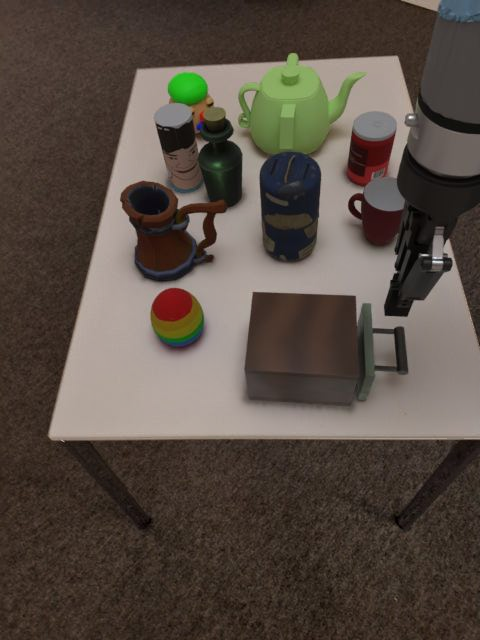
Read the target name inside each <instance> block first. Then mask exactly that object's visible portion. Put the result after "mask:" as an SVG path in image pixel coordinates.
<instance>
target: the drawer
mask: <svg viewBox="0 0 480 640" xmlns="http://www.w3.org/2000/svg"><path fill="white" fill-rule="evenodd" d="M405 329H406V328H405V327H404V326H401V325H400V326H399V325H398V326H395V327H394V328H383V327H381V328H380V327H373V312H372V303H369V302H362V304H361V308H360V312H359V317H358V319H357V341H358V370H359V377H358V380H357V383H356V386H357V389H356V390H357V400H358V401H367V400H368V397H369V395H370V391H371V388H372V386H373V384H374V380H375V377H376V372H390V373H396V374H397V375H399V376H406V375H408V374H409V363H408V362H409V361H408V352H407V342H406V341H407V339H406V330H405ZM374 334H375V335H377V334H379V335H381V334H382V335H393V340H394V354H395V365H376V364H375V347H374Z"/></svg>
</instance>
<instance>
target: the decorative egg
mask: <svg viewBox="0 0 480 640" xmlns="http://www.w3.org/2000/svg"><path fill="white" fill-rule="evenodd" d="M149 313H150V314H149V315H150V316H149V317H150V324H151V328H152V330H153V332H154V334H155V335H156V337H158V338H159V339H160V341H162V342H163V343H165V344H167V345H169V346H172V347H185V346H188V345H190V344H192V343H194V342H195V341H196V340H197V339H198V338H199V337H200V335H201V334H202V332H203V329H204V326H205V325H204V324H205V314H204V311H203V307H202V305H201V303H200V301H199V300H198V299H197V297H195V295H193V294H192V293H191V292H190V291H189V290H186V289H183V288H181V287H169V288H166V289H164V290H162V291H161V292H159V293H158V294H157V295H156V296H155V298H154V299H153V302H152V304H151V307H150V312H149Z"/></svg>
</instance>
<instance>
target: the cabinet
mask: <svg viewBox="0 0 480 640" xmlns="http://www.w3.org/2000/svg"><path fill="white" fill-rule="evenodd" d="M251 296H252V297H251V305H250V315H249V324H248V334H247V341H246V352H245V360H244V375H245V382H246V389H247V395H248V400H253V401H254V400H257V401H268V402H269V401H272V402H286V403H301V404H316V405H331V406H332V405H335V406H351V403H352V400H353V397H354V393H355V390H356V386H357V380H358V377H359V370H358V341H357V324H358V316H357V295H351V294H349V295H347V294H323V293H296V292H295V293H294V292H268V291H252V295H251Z"/></svg>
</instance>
